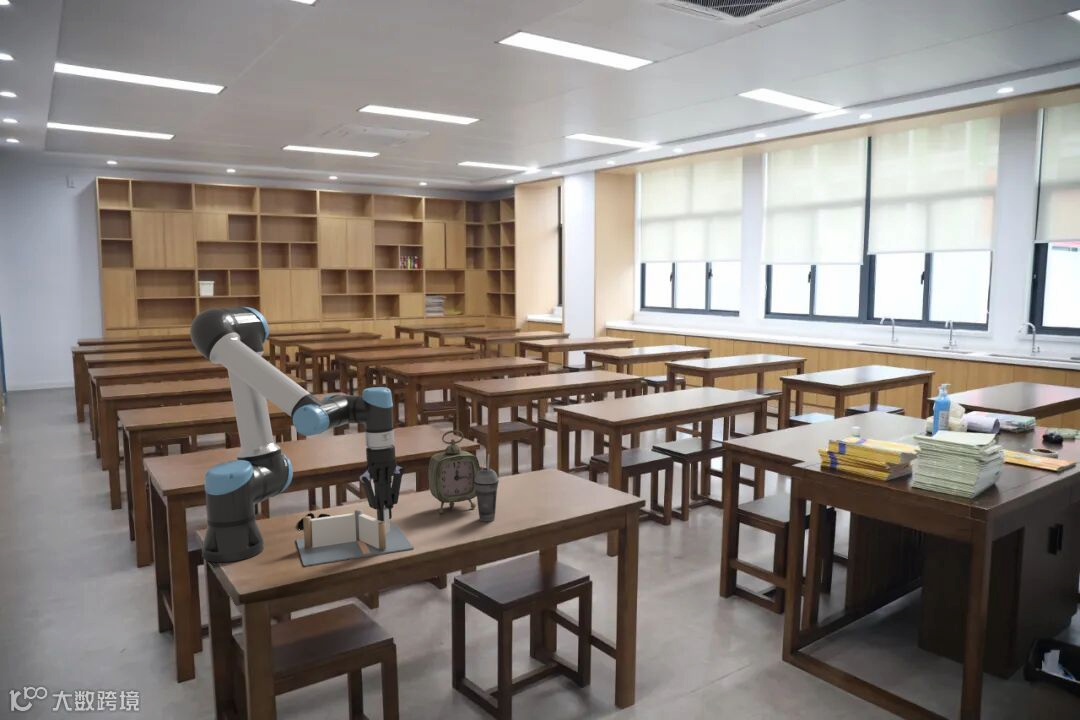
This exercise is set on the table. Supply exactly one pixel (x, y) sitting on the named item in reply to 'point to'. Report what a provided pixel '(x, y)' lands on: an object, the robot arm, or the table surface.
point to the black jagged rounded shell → (300, 523)
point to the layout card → (352, 549)
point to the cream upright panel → (372, 531)
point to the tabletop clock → (453, 474)
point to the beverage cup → (486, 492)
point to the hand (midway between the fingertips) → (385, 531)
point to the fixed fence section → (331, 529)
